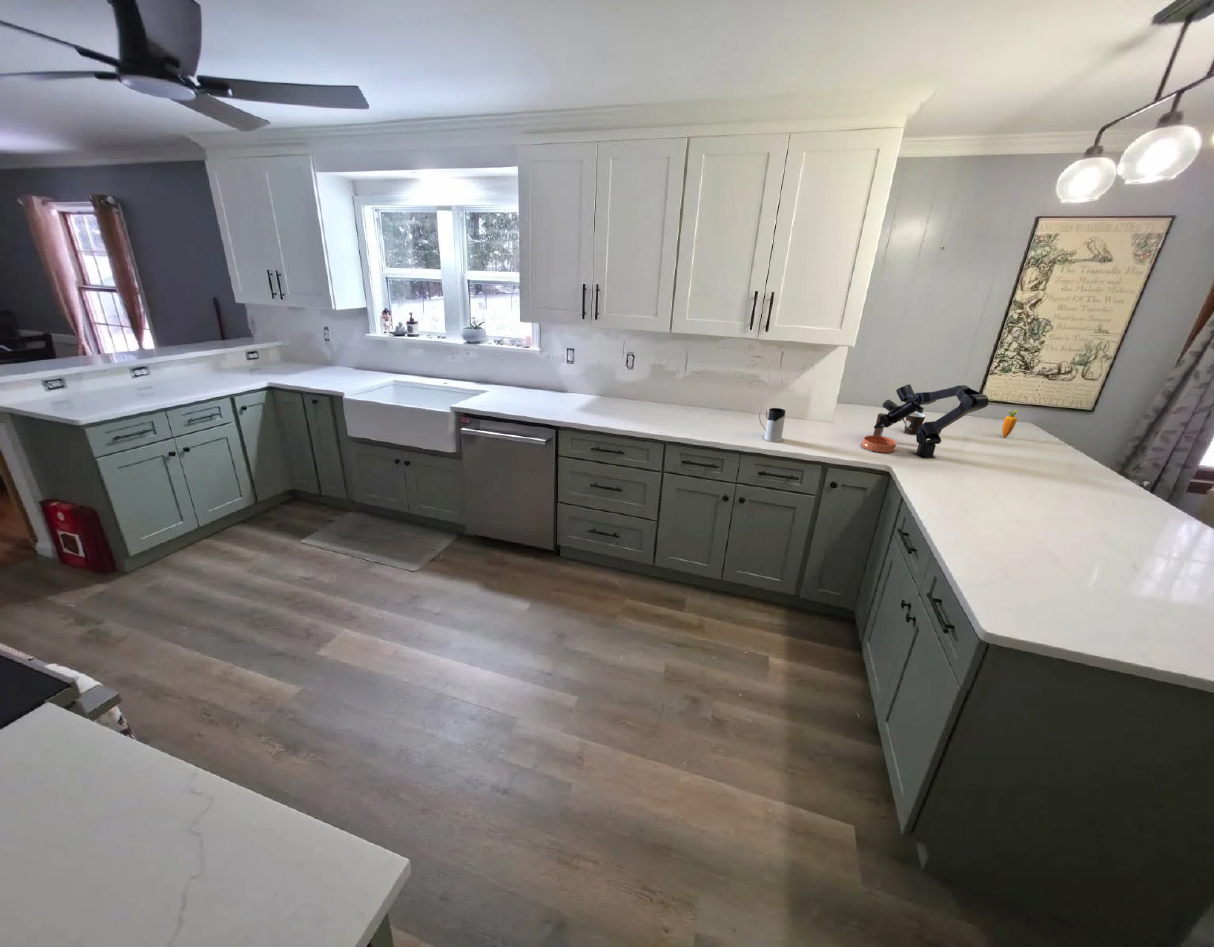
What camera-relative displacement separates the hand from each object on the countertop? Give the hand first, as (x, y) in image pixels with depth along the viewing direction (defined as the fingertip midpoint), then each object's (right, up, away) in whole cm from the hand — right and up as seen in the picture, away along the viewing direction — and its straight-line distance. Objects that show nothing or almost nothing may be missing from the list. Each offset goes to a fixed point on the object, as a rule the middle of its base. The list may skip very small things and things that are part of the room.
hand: (876, 426), depth 247 cm
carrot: (+70, -5, +7) cm, 70 cm away
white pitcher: (-53, -6, +3) cm, 53 cm away
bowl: (-4, -11, -9) cm, 15 cm away
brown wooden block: (+1, -7, +2) cm, 7 cm away
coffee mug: (+25, -2, +14) cm, 29 cm away
